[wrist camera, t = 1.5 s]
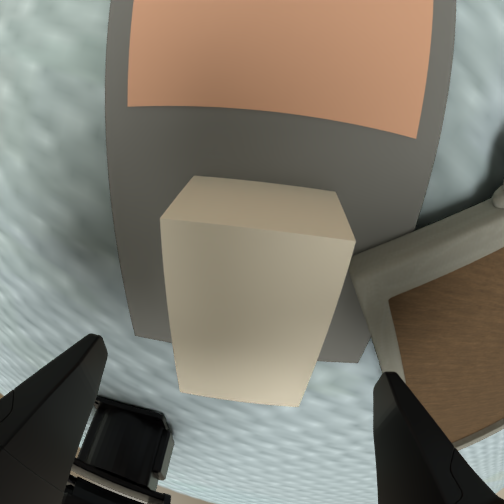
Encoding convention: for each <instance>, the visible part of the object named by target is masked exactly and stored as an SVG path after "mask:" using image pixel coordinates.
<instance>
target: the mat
mask: <svg viewBox="0 0 504 504" xmlns="http://www.w3.org/2000/svg"><path fill="white" fill-rule="evenodd" d="M455 21H456V0H111V4H110V13H109V22H108V34H107V49H106V72H105V123H106V147H107V163H108V175H109V187H110V196H111V205H112V214H113V222H114V229H115V236H116V243H117V249H118V255H119V261H120V267H121V273H122V278H123V283H124V288H125V293H126V298H127V303H128V307H129V312H130V316H131V321H132V325H133V329H134V333H135V336H139V337H144V338H149V339H154V340H159V341H165V342H170V343H172V338H171V331H170V323H169V315H168V307H167V298H166V288H165V278H164V268H163V256H162V243H161V229H160V217H161V216H162V215H163V214H164V212H165V211H166V210H167V208H168V207H169V206H170V205H171V203H172V202H173V201H174V200H175V198H176V197H177V196H178V194H179V193H180V192H181V191H182V190H183V188H184V187H185V186H186V185H187V183H188V182H189V181H190V180H191V178H192V177H193V176H206V177H218V178H229V179H239V180H248V181H258V182H267V183H275V184H283V185H291V186H299V187H306V188H313V189H320V190H327V191H334V192H336V194H337V196H338V199H339V201H340V203H341V206H342V208H343V210H344V213H345V215H346V218H347V220H348V222H349V225H350V227H351V230H352V232H353V235H354V237H355V240H356V243H355V247H354V250H353V254H352V256H354V255H356V254H359V253H361V252H364V251H366V250H369V249H371V248H374V247H376V246H379V245H381V244H384V243H386V242H389V241H391V240H394V239H396V238H399V237H401V236H404V235H406V234H409V233H411V232H413V231H414V229H415V226H416V223H417V220H418V217H419V214H420V210H421V207H422V204H423V201H424V197H425V194H426V190H427V187H428V183H429V179H430V176H431V172H432V168H433V164H434V160H435V156H436V152H437V148H438V143H439V139H440V134H441V129H442V124H443V119H444V114H445V108H446V103H447V96H448V90H449V83H450V76H451V68H452V59H453V49H454V37H455ZM370 338H371V335H370V332H369V329H368V326H367V323H366V320H365V317H364V314H363V311H362V308H361V305H360V303H359V300H358V297H357V294H356V291H355V288H354V285H353V283H352V280H351V277H350V273H349V270H348V271H347V274H346V277H345V280H344V284H343V287H342V290H341V293H340V296H339V299H338V302H337V305H336V308H335V311H334V314H333V317H332V320H331V323H330V326H329V329H328V332H327V335H326V337H325V340H324V343H323V346H322V348H321V351H320V354H319V357H318V359H317V361H326V362H345V363H358V362H359V360H360V358H361V356H362V354H363V352H364V350H365V348H366V346H367V344H368V342H369V340H370Z"/></svg>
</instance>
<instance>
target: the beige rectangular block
mask: <svg viewBox="0 0 504 504" xmlns="http://www.w3.org/2000/svg"><path fill="white" fill-rule="evenodd" d="M160 229H161V243H162V256H163V268H164V278H165V288H166V298H167V307H168V315H169V323H170V331H171V338H172V345H173V352H174V358H175V365H176V371H177V377H178V383H179V389H180V392H182V393H188V394H193V395H199V396H205V397H211V398H217V399H224V400H231V401H239V402H247V403H256V404H266V405H277V406H290V407H299V404H300V402H301V400H302V397H303V395H304V392H305V390H306V387H307V385H308V382H309V380H310V377H311V375H312V372H313V370H314V367H315V364H316V362H317V359H318V357H319V354H320V351H321V348H322V346H323V343H324V340H325V337H326V335H327V332H328V329H329V326H330V323H331V320H332V317H333V314H334V311H335V308H336V305H337V302H338V299H339V296H340V293H341V290H342V287H343V284H344V280H345V277H346V274H347V271H348V267H349V264H350V260H351V257H352V254H353V250H354V247H355V243H356V240H355V237H354V235H353V232H352V230H351V227H350V225H349V222H348V220H347V218H346V215H345V213H344V210H343V208H342V206H341V203H340V201H339V199H338V196H337V194H336V192H334V191H327V190H320V189H313V188H306V187H299V186H291V185H283V184H275V183H267V182H258V181H248V180H239V179H229V178H218V177H206V176H193V177H192V178H191V180H190V181H189V182H188V183H187V185H186V186H185V187H184V188H183V190H182V191H181V192H180V193H179V194H178V196H177V197H176V198H175V200H174V201H173V202H172V203H171V205H170V206H169V207H168V208H167V210H166V211H165V212H164V214H163V215H162V216H161V217H160Z"/></svg>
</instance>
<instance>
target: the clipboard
mask: <svg viewBox="0 0 504 504" xmlns="http://www.w3.org/2000/svg"><path fill="white" fill-rule="evenodd" d="M348 270H349V273H350V277H351V280H352V283H353V285H354V288H355V291H356V294H357V297H358V300H359V303H360V305H361V308H362V311H363V314H364V317H365V320H366V323H367V326H368V329H369V332H370V335H371V338H372V341H373V344H374V347H375V350H376V353H377V357H378V360H379V363H380V366H381V370H382V373H384V372H386V371H394V372H396V373H397V374H398V375H399V376H400V377H401V378H402V380H403V381H404V382H405V383H406V385H407V386H408V387H409V388H410V390H411V391H412V392H413V393H414V395H415V396H416V397H417V399H418V400H419V401H420V402H421V404H422V405H423V406H424V407H425V409H426V410H427V411H428V413H429V414H430V415H431V416H432V418H433V419H434V420H435V422H436V423H437V424H438V425H439V427H440V428H441V429H442V431H443V432H444V433H445V435H446V436H447V437H448V439H449V440H450V441H451V443H452V444H453V445H454V448H456V449H457V450H458V451H459V450H461V449H463V448H466V447H468V446H470V445H472V444H474V443H477V442H479V441H481V440H483V439H485V438H487V437H489V436H491V435H493V434H495V433H497V432H499V431H500V430H502V429H504V181H503V185H502V186H500V187H499V188H498V189H497V190H496V191H495V192H494V194H493V196H492V198H490V199H488V200H486V201H484V202H481V203H479V204H477V205H475V206H472V207H470V208H468V209H465V210H463V211H461V212H459V213H456V214H454V215H452V216H449V217H447V218H445V219H442V220H440V221H437V222H435V223H433V224H430V225H428V226H426V227H423V228H421V229H418V230H416V231H413V232H411V233H409V234H406V235H404V236H401V237H399V238H396V239H394V240H391V241H389V242H386V243H384V244H381V245H379V246H376V247H374V248H371V249H369V250H366V251H364V252H361V253H359V254H356V255H354V256H352V257H351V260H350V264H349V267H348Z"/></svg>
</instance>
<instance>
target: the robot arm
mask: <svg viewBox="0 0 504 504" xmlns="http://www.w3.org/2000/svg"><path fill="white" fill-rule="evenodd" d="M107 356H108V353H107V349H106V346H105V344H104V341H103V338H102V337H101V336H100V335H96V334H88V335H87V336H85V337H84V338H83V339H81V340H80V341H78V342H77V343H76V344H74V345H73V346H71V347H70V348H69V349H67V350H66V351H65V352H63V353H62V354H60V355H59V356H58V357H56V358H55V359H54V360H52V361H51V362H50V363H48V364H47V365H45V366H44V367H43V368H41V369H40V370H39V371H37V372H36V373H35V374H33V375H32V376H31V377H29V378H28V379H27V380H25V381H24V382H23V383H21V384H20V385H19V386H17V387H16V388H15V389H14V390H12V391H10V392H9V393H8V394H7V395H5V396H4V397H2V398H1V399H0V504H144V503H141V502H138V501H135V500H132V499H129V498H127V497H124V496H122V495H119V494H117V493H114V492H112V491H109V490H107V489H104V488H102V487H100V486H97V485H95V484H93V483H90V482H88V481H86V480H84V479H82V478H80V477H77V478H76V477H74V476H72V475H70V471H73V472H75V473H77V474H79V475H81V476H83V477H85V478H88V479H90V480H92V481H94V482H97V483H99V484H101V485H103V486H106V487H108V488H111V489H113V490H115V491H118V492H121V493H123V494H125V495H128V496H131V497H134V498H136V499H139V500H142V501H145V502H148V503H147V504H170V501H171V496H170V495H168V494H165V493H163V494H162V493H159V492H156V488H157V484H158V480H165V479H166V475H167V471H168V466H169V462H170V458H171V454H172V450H173V446H174V440H173V437H172V434H171V432H170V431H169V429H168V426H167V423H166V420H165V417H164V416H163V415H162V414H159V413H156V412H151V411H147V410H143V409H139V408H135V407H132V406H128V405H124V404H121V403H117V402H114V401H111V400H107V399H104V398H101V397H98V396H97V393H98V390H99V386H100V382H101V379H102V375H103V371H104V368H105V364H106V361H107ZM93 405H94V406H95V408H96V409H97V410H96V413H95V415H94V417H93V420H92V422H91V425H90V427H89V430H88V432H87V434H86V437H85V439H84V442H83V444H82V447H81V450H80V452H79V455H78V457H77V458H75V456H76V453H77V450H78V447H79V444H80V441H81V438H82V435H83V432H84V429H85V427H86V424H87V421H88V418H89V416H90V413H91V410H92V408H93ZM373 434H374V446H375V457H376V471H377V487H378V504H504V500H503V499H501V498H500V497H498V496H497V495H496V494H495V493H494V492H493V491H492V490H491V489H490V488H489V487H488V486H487V485H486V483H485V482H484V481H483V480H482V479H481V478H480V477H479V476H478V475H477V474H476V473H475V471H474V470H473V469H472V468H471V467H470V466H469V465H468V463H467V462H466V461H465V459H464V458H463V457H462V456H461V454H460V453H459V452H458V450H457V449H456V448H454V445H453V444H452V443H451V441H450V440H449V439H448V437H447V436H446V435H445V433H444V432H443V431H442V429H441V428H440V427H439V425H438V424H437V423H436V422H435V420H434V419H433V418H432V416H431V415H430V414H429V413H428V411H427V410H426V409H425V407H424V406H423V405H422V404H421V402H420V401H419V400H418V399H417V397H416V396H415V395H414V393H413V392H412V391H411V390H410V388H409V387H408V386H407V385H406V383H405V382H404V381H403V380H402V378H401V377H400V376H399V375H398V374H397V373H396V372H394V371H386V372H384V373H383V374H382V375H381V377H380V378H379V380H378V381H377V383H376V384H375V386H374V390H373Z"/></svg>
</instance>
